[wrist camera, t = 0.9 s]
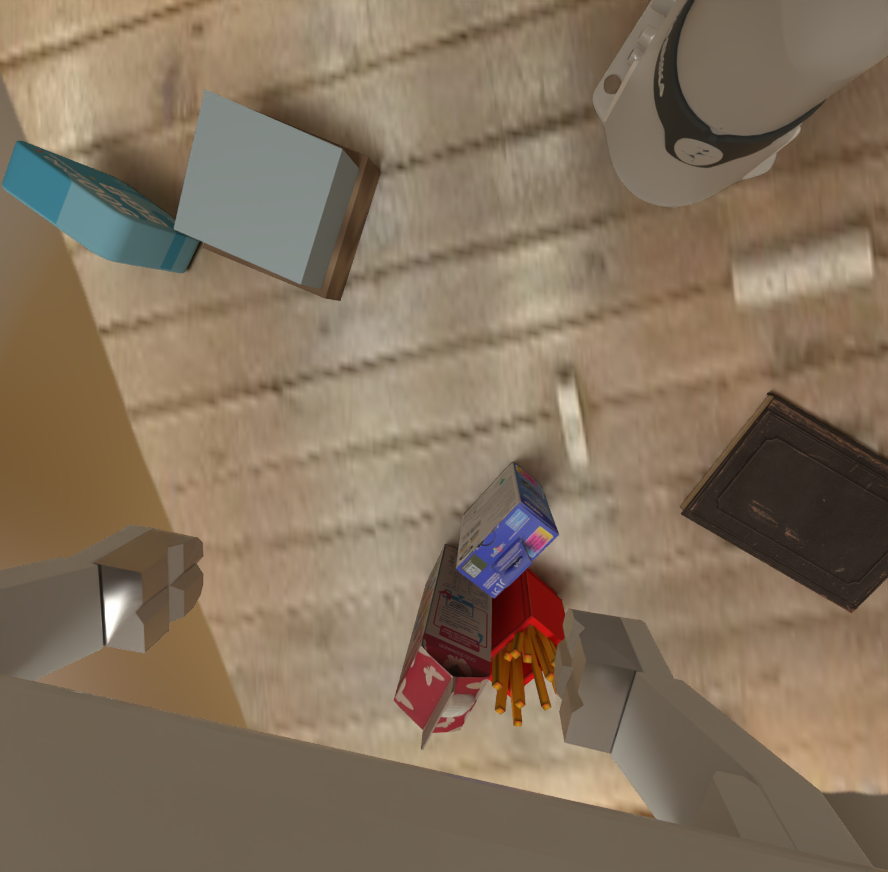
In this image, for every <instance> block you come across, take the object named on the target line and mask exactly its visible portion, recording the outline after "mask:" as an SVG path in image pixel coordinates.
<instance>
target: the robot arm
mask: <svg viewBox="0 0 888 872" xmlns="http://www.w3.org/2000/svg"><path fill="white" fill-rule="evenodd" d="M887 56H888V0H651V1H650V3H649V4H648V6H647V8H646V9H645V11H644V12H643V14H642V16H641V17H640V19H639V20H638V22H637V24H636V25H635V27H634V28H633V30H632V32H631V33H630V35H629V36H628V38H627V39H626V41H625V43H624V44H623V46H622V47H621V49H620V51H619V52H618V54H617V55H616V57H615V59H614V60H613V62H612V63H611V65H610V66H609V68H608V70H607V71H606V73H605V74H604V76H603V78H602V79H601V81H600V82H599V84H598V86H597V87H596V89H595V91H594V93H593V96H592V102H593V106H594V108H595V111H596V113H597V115H598V116H599V118H600V120H601V122H602V123H603V125H604V128H605V132H606V137H607V144H608V150H609V154H610V158H611V161H612V164H613V167H614V169H615V171H616V173H617V175H618V177H619V179H620V180H621V182H622V183H623V184H624V185H625V187H626V188H627V189H628V190H629V191H630V192H631V193H633V194H634V195H635V196H637V197H638V198H640V199H642V200H644V201H646V202H648V203H651V204H654V205H658V206H664V207H680V206H686V205H690V204H694V203H697V202H700V201H702V200H705V199H707V198H709V197H711V196H713V195H715V194H716V193H718V192H720V191H721V190H723V189H725V188H726V187H728V186H730V185H732V184H733V183H735V182H737V181H740V180H745V179H749V178H753V177H756V176H759V175H762V174H764V173H766V172H767V171H768V170H769V169H770V168H771V167H772V165H773V163H774V161H775V158H776V155H777V152H778V151H779V150H780V149H782V148H783V147H784V146H786V145H787V144H788V143H789V142H791V141H792V140H793V139H794V138H795V137H796V136H797V135H798V133H799V132H800V130H801V128H800V125H801V124H802V123H803V121H804V120H806V119H807V118H808V117H809V116H811V115H812V114H813V113H814V112H815V111H816V110H817V109H818V108H819V107H820V106H821V105H822V104H823V102H824V101H825V100H826V99H827V98H828V97H830V96H831V95H832V94H834V93H835V92H837V91H838V90H840V89H841V88H843V87H844V86H845V85H847V84H848V83H850V82H851V81H853V80H854V79H855V78H857V77H858V76H860V75H861V74H863V73H864V72H866V71H867V70H868V69H870V68H871V67H873V66H874V65H876V64H877V63H878V62H880V61H881V60H883V59H884V58H885V57H887ZM611 75H616V76H618V77H619V78H620V80H621V86H620V88H619V89H618V91H617V92H616V93H615V94H608V93H607V92H606V91H605V90H604V86H603V85H604V81H605V79H606V78H607V77H609V76H611ZM202 557H203V543H202V541H201V540H200V539H199V538H197V537H193V536H188V535H183V534H179V533H174V532H169V531H164V530H160V529H155V528H150V527H145V526H139V525H129V526H127V527H125V528H124V529H122V530H120V531H118V532H116V533H114V534H112V535H110V536H108V537H107V538H105V539H103V540H101V541H99V542H97V543H95V544H94V545H92V546H90V547H88V548H86V549H84V550H82V551H80V552H79V553H77V554H75V555H73V556H71V557H69V558H61V557H59V558H55V559H50V560H45V561H41V562H36V563H31V564H27V565H22V566H18V567H13V568H9V569H4V570H0V872H888V871H887V870H882V869H878V868H874V867H873V866H872V864H871V863H870V861H869V860H868V859H867V857H866V856H865V854H864V853H863V851H862V850H861V849H860V847H859V846H858V844H857V843H856V841H855V840H854V839H853V837H852V836H851V834H850V833H849V832H848V830H847V829H846V827H845V826H844V824H843V823H842V821H841V820H840V819H839V817H838V816H837V814H836V813H835V811H834V810H833V809H832V807H831V806H830V804H829V803H828V801H827V800H826V799H825V797H824V796H823V794H822V793H821V791H820V790H818V789H817V788H816V787H815V786H813V785H812V784H811V783H810V782H808V781H807V780H806V779H805V778H803V777H802V776H801V775H800V774H798V773H797V772H796V771H795V770H793V769H792V768H791V767H790V766H788V765H787V764H786V763H785V762H783V761H782V760H781V759H780V758H778V757H777V756H776V755H775V754H773V753H772V752H771V751H770V750H768V749H767V748H766V747H765V746H763V745H762V744H761V743H760V742H758V741H757V740H756V739H755V738H753V737H752V736H751V735H750V734H749V733H747V732H746V731H745V730H744V729H742V728H741V727H740V726H739V725H737V724H736V723H735V722H734V721H732V720H731V719H730V718H729V717H727V716H726V715H725V714H724V713H722V712H721V711H720V710H719V709H717V708H716V707H715V706H714V705H712V704H711V703H710V702H709V701H707V700H706V699H705V698H704V697H702V696H701V695H700V694H699V693H697V692H696V691H695V690H694V689H692V688H691V687H690V686H689V685H687V684H686V683H685V682H684V681H682V680H677V679H674V677H673V675H672V674H671V672H670V670H669V668H668V666H667V664H666V662H665V660H664V658H663V656H662V654H661V652H660V650H659V649H658V647H657V645H656V643H655V641H654V639H653V637H652V635H651V633H650V631H649V629H648V627H647V625H646V624H645V623H644V622H643V621H642V620H636V619H630V618H623V617H615V616H609V615H603V614H597V613H591V612H585V611H579V610H573V609H568V610H567V612H566V615H565V618H564V622H563V630H564V634H565V639H563V640H562V641H561V642H560V643H558V647H557V652H556V656H555V666H554V682H555V689H556V693H557V694H558V696H559V697H560V698H561V699H562V702H561V707H560V711H559V713H560V719H561V725H562V730H563V736H564V742H565V743H569V744H573V745H577V746H582V747H586V748H590V749H594V750H598V751H602V752H606V753H610V754H611V757H612V758H613V760H614V761H615V763H616V764H617V765H618V767H619V768H620V769H621V771H622V772H623V774H624V775H625V776H626V778H627V779H628V780H629V782H630V783H631V785H632V786H633V787H634V789H635V790H636V792H637V793H638V794H639V796H640V797H641V798H642V800H643V801H644V803H645V804H646V805H647V807H648V808H649V809H650V811H651V812H652V814H653V815H654V816H655V818H656V819H653V818H649V817H644V816H639V815H635V814H630V813H626V812H621V811H617V810H612V809H608V808H603V807H599V806H594V805H589V804H585V803H580V802H575V801H571V800H566V799H562V798H557V797H553V796H548V795H544V794H539V793H535V792H530V791H526V790H521V789H517V788H512V787H508V786H504V785H499V784H495V783H490V782H486V781H481V780H477V779H472V778H468V777H463V776H459V775H454V774H450V773H445V772H441V771H436V770H432V769H427V768H423V767H418V766H414V765H409V764H405V763H400V762H396V761H391V760H387V759H382V758H378V757H373V756H369V755H364V754H360V753H355V752H351V751H346V750H342V749H337V748H333V747H328V746H324V745H319V744H315V743H310V742H306V741H301V740H296V739H292V738H287V737H283V736H278V735H274V734H269V733H265V732H260V731H255V730H251V729H246V728H242V727H237V726H232V725H228V724H224V723H219V722H214V721H210V720H206V719H201V718H197V717H192V716H188V715H183V714H179V713H174V712H170V711H165V710H160V709H156V708H152V707H147V706H143V705H138V704H134V703H129V702H124V701H120V700H115V699H111V698H107V697H102V696H98V695H93V694H89V693H84V692H79V691H75V690H71V689H66V688H62V687H57V686H53V685H48V684H44V683H39V682H35V680H37V679H39V678H41V677H43V676H45V675H47V674H50V673H51V672H54V671H56V670H58V669H60V668H62V667H64V666H66V665H69V664H71V663H73V662H75V661H77V660H79V659H81V658H83V657H86V656H88V655H90V654H92V653H94V652H96V651H98V650H100V649H102V648H103V647H104V646H108V647H113V648H120V649H124V650H130V651H136V652H141V653H145V652H147V651H148V650H149V649H150V648H151V647H152V646H153V645H154V644H155V643H156V642H157V641H158V640H160V639H161V638H162V637H163V636H164V635H165V634H166V633H167V632H168V631H169V624H170V622H172V621H174V620H177V619H179V618H182V617H184V616H185V615H186V614H187V613H188V612H189V611H190V610H191V609H192V608H193V607H194V606H195V604H196V602H197V600H198V598H199V597H200V595H201V591H202V587H203V573H202V571H201V570H200V568H199V566H198V565H197V563H198V562H199V561H200V559H201V558H202Z"/></svg>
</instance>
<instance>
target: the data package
mask: <svg viewBox="0 0 888 872" xmlns="http://www.w3.org/2000/svg"><path fill="white" fill-rule="evenodd" d="M2 187H3V188H4V189H5V191H7V192H8V193H9V194H11V195H12V196H14V197H15V198H16V199H18V200H19V201H21V202H22V203H23V204H25V205H26V206H28V207H29V208H30V209H32V210H33V211H35V212H36V213H38V214H39V215H40V216H42V217H43V218H45V219H46V220H47V221H49V222H50V223H52V224H53V225H55V226H56V227H57V228H59V229H60V230H62V231H63V232H64V233H66V234H67V235H69V236H70V237H71V238H73V239H74V240H76V241H77V242H79V243H80V244H81V245H83V246H84V247H86V248H87V249H88V250H90V251H91V252H93V253H95V254H96V255H98V256H100V257H103V258H105V259H107V260H110V261H113V262H118V263H124V264H129V265H135V266H141V267H147V268H153V269H159V270H165V271H170V272H176V273H184V272H185V271H186V269H187V267H188V265H189V263H190V261H191V258H192V256H193V254H194V252H195V250H196V248H197V246H198V244H199V242H200V240H197V239H195V238H193V237H190V236H188V235H186V234H184V233H181V232H179V231H177V230H174V225H175V220H176V219H174V218H173V217H171V216H170V215H169V214H167V213H166V212H164V211H163V210H162V209H160V208H159V207H158V206H156V205H155V204H153V203H152V202H151V201H149V200H148V199H146V198H145V197H144V196H142V195H141V194H139V193H138V192H137V191H135V190H134V189H133V188H131V187H130V186H128V185H127V184H125V183H124V182H122V181H120V180H118V179H117V178H115V177H113V176H110V175H108V174H106V173H103V172H101V171H98V170H95V169H93V168H90V167H88V166H85V165H83V164H80V163H78V162H75V161H73V160H70V159H67V158H65V157H62V156H60V155H57V154H55V153H52V152H50V151H47V150H45V149H42V148H40V147H37V146H34V145H32V144H29V143H27V142H24V141H17V142H16V144H15V147H14V150H13V153H12V156H11V159H10V162H9V165H8V168H7V171H6V173H5V176H4V179H3V182H2Z"/></svg>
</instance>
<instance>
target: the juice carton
mask: <svg viewBox="0 0 888 872" xmlns="http://www.w3.org/2000/svg"><path fill="white" fill-rule="evenodd" d="M457 557H458V550H457V549H455V548H453V547H450V546H448V545H446V544H445V545H444V547H443V549H442V551H441V554H440V556H439V558H438V560H437V562H436V564H435V566H434V568H433V570H432V572H431V574H430V577H429V579H428V581H427V583H426V585H425V588H424V592H423V596H422V599H421V603H420V607H419V610H418V614H417V617H416V621H415V625H414V628H413V632H412V636H411V639H410V643H409V647H408V650H407V654H406V658H405V661H404V665H403V669H402V672H401V676H400V680H399V683H398V687H397V690H396V694H395V698H394V701H395V703H396V704H397V705H398V706H399V707H400V708H401V709H402V710H403V711H404V712H405V713H406V714H407V715H408V716H409V717H410V718H411V719H412V720H413V721H414V722H415V723H416V724H417V725H418V726H419V727H420V728H421V729H422V730H423V733H422V744H421V750H423V749H424V747H425V745H426V743H427V742H428V740H429V738H430V736H431V734H432V733H440V732H454V731H458V730H460V729H461V727H462V726H463V724H464V722H465V720H466V719H467V717H468V715H469V713H470V712H471V710H472V708H473V706H474V705H475V703H476V701H477V699H478V698H479V696H480V694H481V692H482V690H483V689H484V687H485V685H486V683H487V682H488V680H489V678H490V676H491V616H492V597H491V596H489V595H488V594H487V593H486V592H484V591H483V590H482V589H480V588H479V587H478V586H477V585H476V584H474V583H473V582H472V581H470V580H469V579H468V578H466V577H465V576H464V575H463V574H461V573H460V572H459V571H458V570H457V569H456V565H457Z"/></svg>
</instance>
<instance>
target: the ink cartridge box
mask: <svg viewBox="0 0 888 872" xmlns="http://www.w3.org/2000/svg"><path fill="white" fill-rule="evenodd" d="M558 535H559V533H558V530H557V527H556V525H555V522H554V519H553V517H552V514H551V511H550V509H549V506H548V503H547V500H546V497H545V494H544V491H543V489H542V487H541V485H540V484H539V483H537V482H536V481H535V480H534V479H533V478H532V477H531V476H529V475H528V474H527V473H526V472H525V471H524V470H523V469H521V468H520V467H519V466H518V465H517V464H515V463H511V464H510V465H509V466H508V467H507V468H506V469H505V470H504V472H503V473H502V474H501V475H500V476H499V477H498V478H497V479H496V480H495V481H494V482H493V484H492V485H491V486H490V487H489V488H488V489H487V490H486V491H485V492H484V493H483V494H482V495H481V497H480V498H479V499H478V500H477V501H476V502H475V503H474V504H473V505H472V506H471V508H470V509H469V510H468V511H467V512H466V513H465V514H464V515H463V517H462V524H461V533H460V540H459V548H458V557H457V565H456V569H457V570H458V571H459V572H460V573H461V574H463V575H464V576H465V577H466V578H468V579H469V580H470V581H472V582H473V583H474V584H476V585H477V586H478V587H479V588H480V589H482V590H483V591H484V592H486V593H487V594H488V595H489V596H491V597H492V598H496V597H497V596H498V595H499V594H500V593H501V592H502V591H503V590H504V589H505V588H506V587H508V586H509V585H510V584H511V583H512V582H513V581H514V580H515V579H517V578H518V577H519V576H520V575H521V574H522V573H523V572H524V571H525V570H526V569H527V568H528V567H529V566H530V565H531V564H532V561H533V560H534V559H535V558H536V557H537V556H538V555H539V554H540V553H541V552H542V551H543V550H544V549H545V548H546V547H547V546H548V545H549V544H550V543H551V542H552V541H553V540H554V539H555V538H556V537H557V536H558Z"/></svg>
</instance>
